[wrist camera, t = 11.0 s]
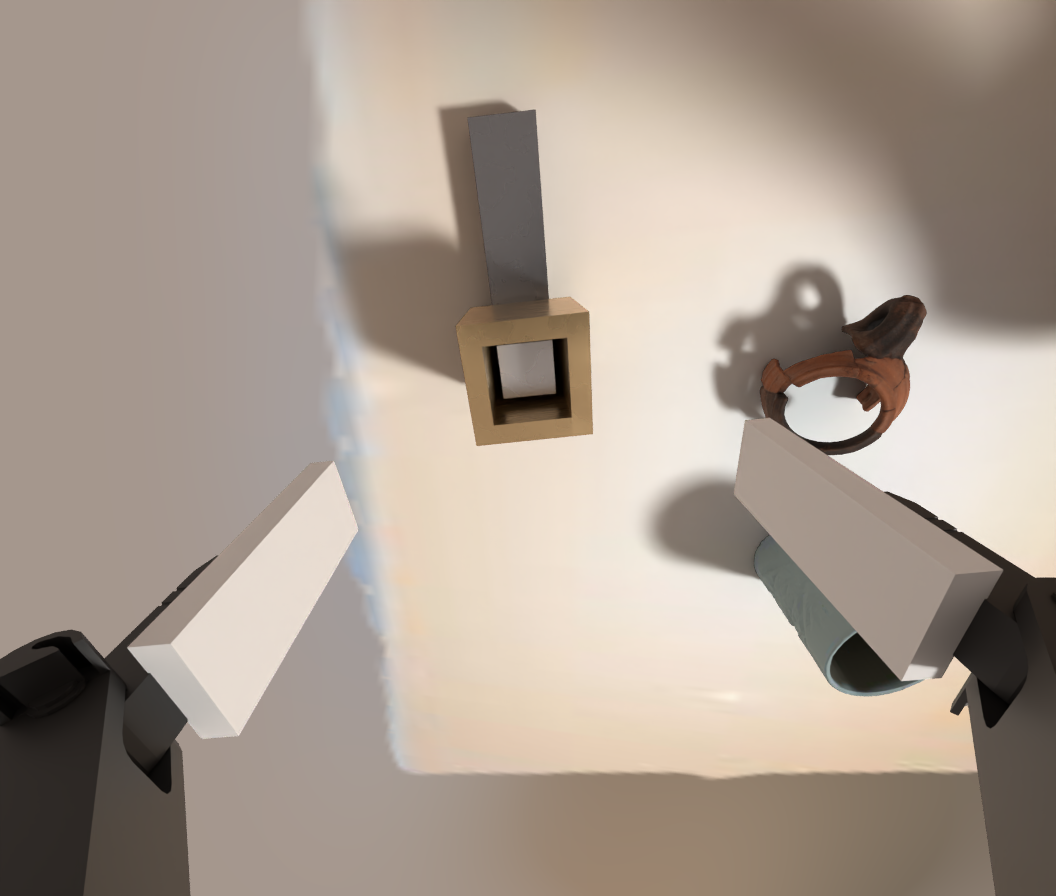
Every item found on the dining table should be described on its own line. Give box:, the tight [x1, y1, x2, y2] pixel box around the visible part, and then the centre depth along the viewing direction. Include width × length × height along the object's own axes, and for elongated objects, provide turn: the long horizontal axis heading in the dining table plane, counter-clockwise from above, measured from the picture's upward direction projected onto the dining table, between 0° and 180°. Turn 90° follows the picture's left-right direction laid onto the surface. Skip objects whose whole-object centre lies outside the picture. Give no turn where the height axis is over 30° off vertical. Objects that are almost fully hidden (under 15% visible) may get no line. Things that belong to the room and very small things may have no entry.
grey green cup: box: [754, 535, 925, 696], centre depth 36 cm, size 10×10×12 cm
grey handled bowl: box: [468, 110, 559, 399], centre depth 26 cm, size 8×18×7 cm, turn 6°
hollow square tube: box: [455, 297, 593, 446], centre depth 26 cm, size 7×7×8 cm
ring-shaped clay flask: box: [760, 295, 927, 455], centre depth 30 cm, size 12×10×8 cm
